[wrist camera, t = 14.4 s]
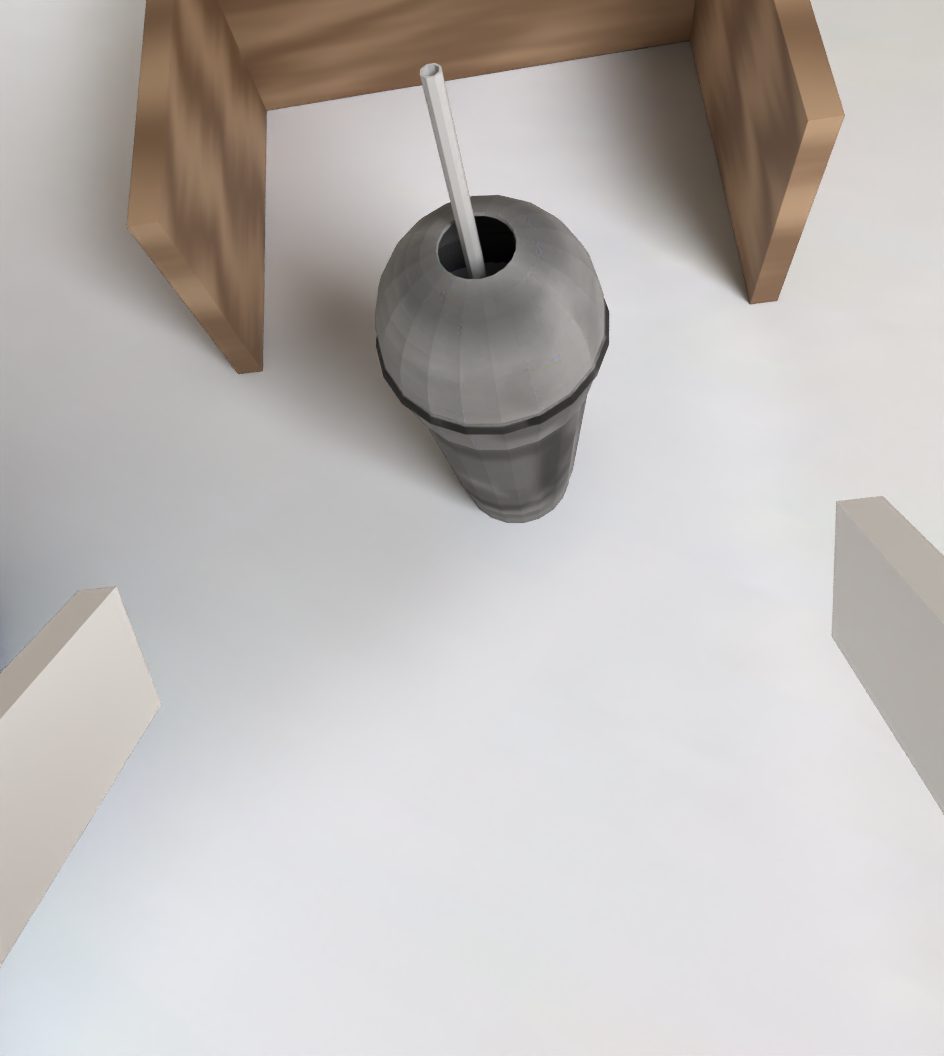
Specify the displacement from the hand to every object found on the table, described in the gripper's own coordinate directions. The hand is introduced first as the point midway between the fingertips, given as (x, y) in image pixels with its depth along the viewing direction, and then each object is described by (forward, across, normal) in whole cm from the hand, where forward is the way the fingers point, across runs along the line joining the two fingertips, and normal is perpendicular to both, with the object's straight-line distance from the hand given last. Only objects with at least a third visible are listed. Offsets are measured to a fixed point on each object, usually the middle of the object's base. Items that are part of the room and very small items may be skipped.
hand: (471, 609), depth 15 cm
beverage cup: (+21, 0, -6) cm, 22 cm away
